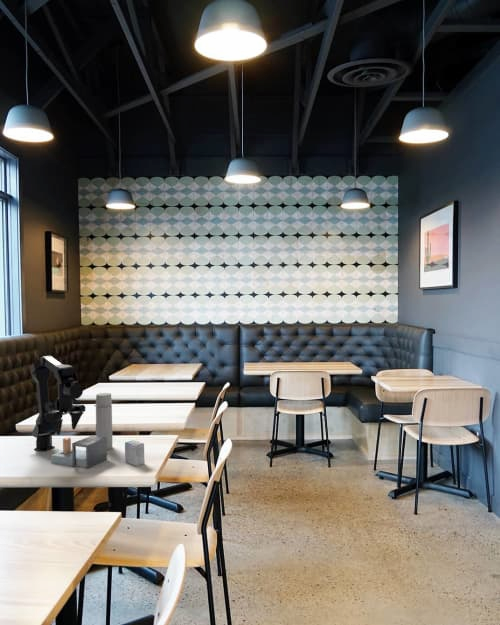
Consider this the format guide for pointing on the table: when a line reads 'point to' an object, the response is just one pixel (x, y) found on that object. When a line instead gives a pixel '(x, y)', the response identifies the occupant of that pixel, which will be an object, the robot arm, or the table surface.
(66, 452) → the peg
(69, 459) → the socket plate
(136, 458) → the medicine box
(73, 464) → the grey open-top bin
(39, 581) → the table surface
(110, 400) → the water bottle
